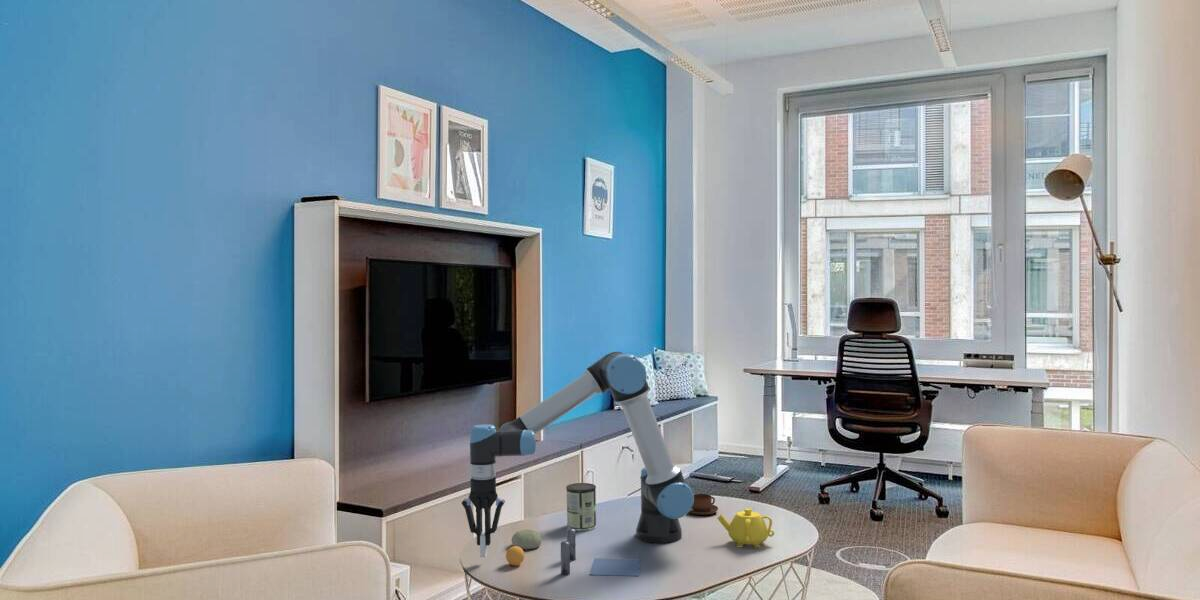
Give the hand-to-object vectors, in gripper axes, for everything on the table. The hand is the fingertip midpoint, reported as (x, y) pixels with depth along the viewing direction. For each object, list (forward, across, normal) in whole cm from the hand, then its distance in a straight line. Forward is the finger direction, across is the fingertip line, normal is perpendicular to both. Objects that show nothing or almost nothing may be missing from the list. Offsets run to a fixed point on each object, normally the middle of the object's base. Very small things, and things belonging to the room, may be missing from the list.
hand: (483, 555), depth 235 cm
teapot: (+3, +80, +26) cm, 84 cm away
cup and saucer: (+3, +66, +61) cm, 90 cm away
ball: (0, +10, 0) cm, 10 cm away
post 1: (+3, +26, -6) cm, 26 cm away
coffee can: (+3, +24, +40) cm, 47 cm away
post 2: (+3, +26, +6) cm, 26 cm away
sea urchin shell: (+3, +10, +18) cm, 21 cm away
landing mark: (+2, +40, 0) cm, 40 cm away
